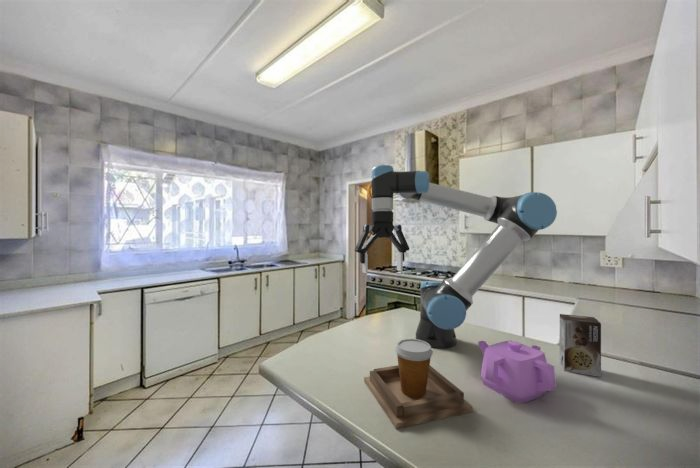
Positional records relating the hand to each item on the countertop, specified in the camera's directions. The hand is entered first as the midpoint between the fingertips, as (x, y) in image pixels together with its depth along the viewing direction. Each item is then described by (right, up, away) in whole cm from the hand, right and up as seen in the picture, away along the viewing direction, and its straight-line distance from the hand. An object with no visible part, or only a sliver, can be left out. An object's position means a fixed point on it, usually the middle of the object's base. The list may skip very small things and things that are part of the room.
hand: (382, 271), depth 100 cm
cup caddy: (+5, -29, -25) cm, 39 cm away
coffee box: (+59, -29, -11) cm, 67 cm away
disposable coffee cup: (+5, -28, -25) cm, 38 cm away
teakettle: (+34, -29, -20) cm, 49 cm away
